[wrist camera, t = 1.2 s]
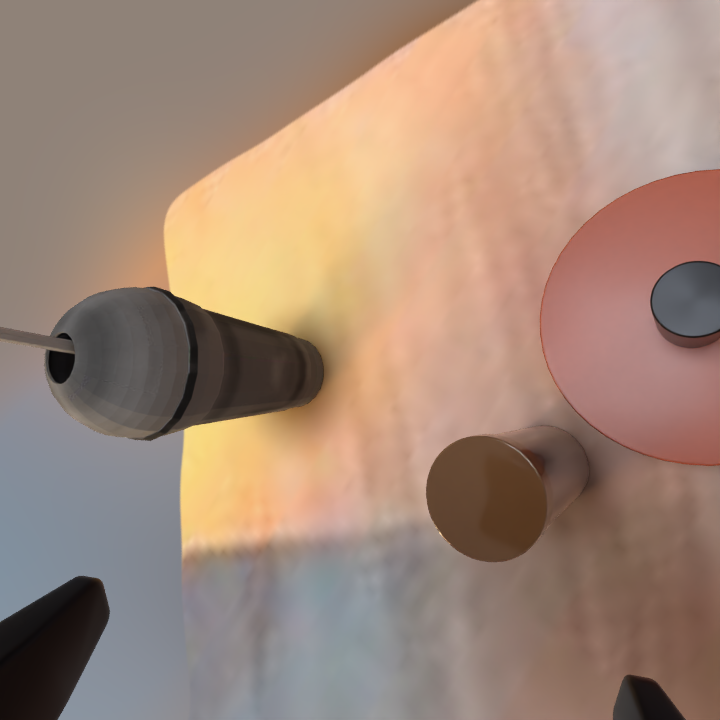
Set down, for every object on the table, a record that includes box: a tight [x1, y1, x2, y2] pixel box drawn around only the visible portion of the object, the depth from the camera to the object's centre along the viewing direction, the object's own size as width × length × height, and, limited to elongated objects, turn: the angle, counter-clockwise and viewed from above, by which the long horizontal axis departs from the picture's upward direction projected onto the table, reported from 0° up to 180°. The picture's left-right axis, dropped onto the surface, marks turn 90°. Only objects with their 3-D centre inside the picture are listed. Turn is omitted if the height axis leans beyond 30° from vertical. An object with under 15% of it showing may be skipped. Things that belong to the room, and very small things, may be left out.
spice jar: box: [426, 426, 589, 562], centre depth 22 cm, size 4×4×10 cm
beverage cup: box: [0, 287, 323, 441], centre depth 26 cm, size 7×7×20 cm
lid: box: [540, 169, 720, 466], centre depth 18 cm, size 11×11×5 cm
